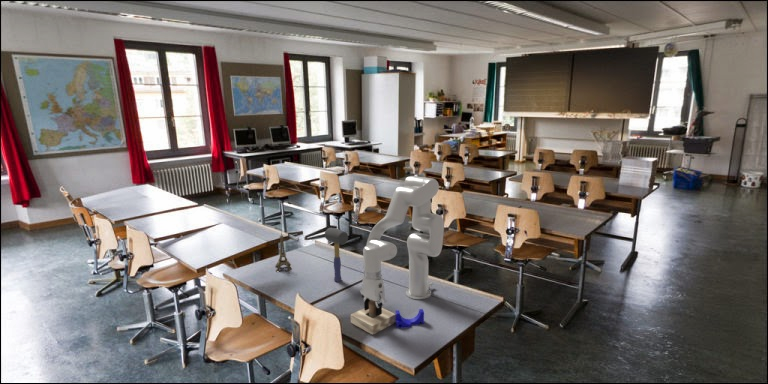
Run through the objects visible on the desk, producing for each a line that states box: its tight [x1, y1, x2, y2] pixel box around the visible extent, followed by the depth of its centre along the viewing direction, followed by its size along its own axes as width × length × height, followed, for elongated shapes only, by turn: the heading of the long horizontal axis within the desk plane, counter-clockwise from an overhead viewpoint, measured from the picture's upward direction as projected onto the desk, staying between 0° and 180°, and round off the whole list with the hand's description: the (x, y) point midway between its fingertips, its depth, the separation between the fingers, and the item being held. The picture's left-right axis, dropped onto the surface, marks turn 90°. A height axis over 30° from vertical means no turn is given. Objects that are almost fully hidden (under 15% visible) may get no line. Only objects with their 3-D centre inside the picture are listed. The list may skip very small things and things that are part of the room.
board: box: [350, 307, 396, 336], centre depth 183 cm, size 14×14×4 cm
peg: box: [369, 299, 377, 318], centre depth 183 cm, size 4×4×10 cm
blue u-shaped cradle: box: [395, 308, 425, 329], centre depth 181 cm, size 12×4×6 cm, turn 96°
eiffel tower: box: [274, 231, 293, 273], centre depth 242 cm, size 11×11×25 cm
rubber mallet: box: [324, 227, 349, 283], centre depth 223 cm, size 12×8×30 cm, turn 46°
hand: (373, 311), depth 183 cm, fingers open, 6 cm apart
